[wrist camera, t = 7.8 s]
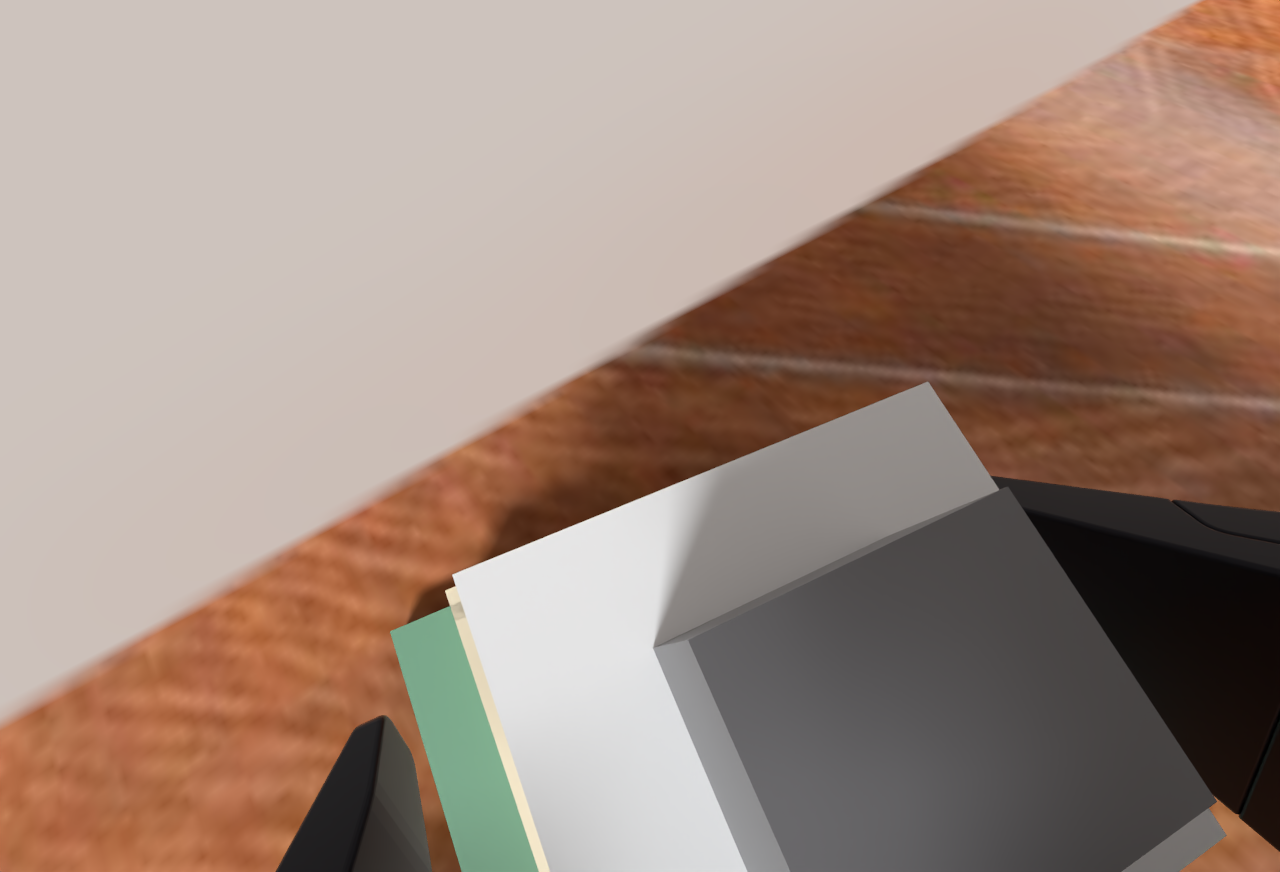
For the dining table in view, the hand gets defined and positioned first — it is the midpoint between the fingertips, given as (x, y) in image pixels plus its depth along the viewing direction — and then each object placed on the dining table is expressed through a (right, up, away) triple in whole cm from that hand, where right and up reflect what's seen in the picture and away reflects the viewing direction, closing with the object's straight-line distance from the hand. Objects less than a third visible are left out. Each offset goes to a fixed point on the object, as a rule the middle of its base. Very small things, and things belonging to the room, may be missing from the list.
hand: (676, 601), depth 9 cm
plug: (0, -4, +7) cm, 8 cm away
